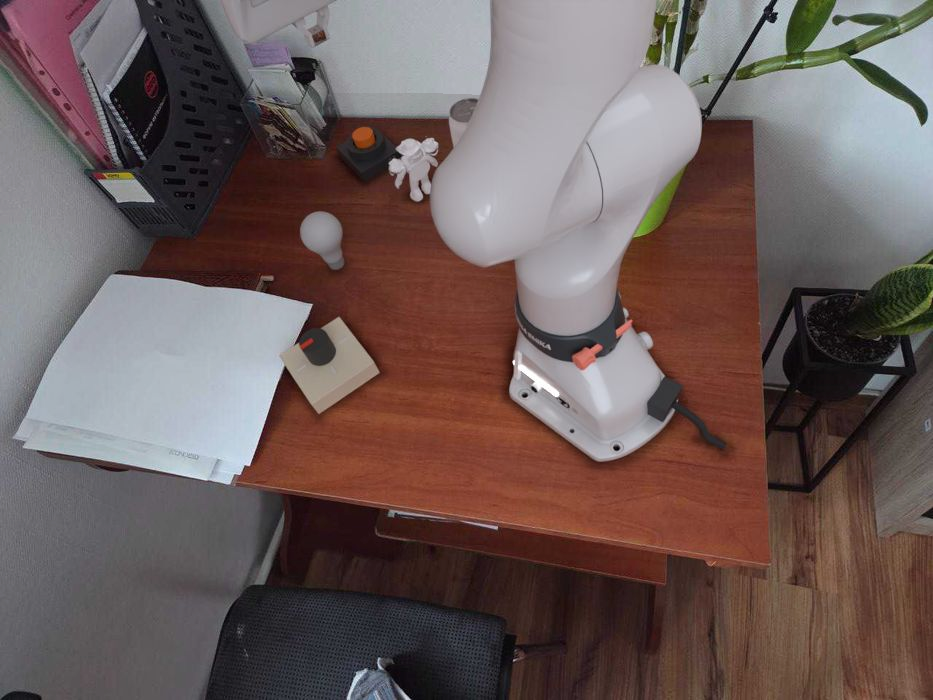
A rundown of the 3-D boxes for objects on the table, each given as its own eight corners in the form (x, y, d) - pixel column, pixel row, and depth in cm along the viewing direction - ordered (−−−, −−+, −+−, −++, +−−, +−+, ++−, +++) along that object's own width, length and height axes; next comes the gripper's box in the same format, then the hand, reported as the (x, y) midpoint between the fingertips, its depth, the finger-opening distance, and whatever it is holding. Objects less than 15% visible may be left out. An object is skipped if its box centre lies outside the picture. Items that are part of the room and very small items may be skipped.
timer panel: (379, 372, 86) (374, 361, 83) (318, 414, 84) (310, 404, 81) (345, 327, 91) (338, 315, 88) (286, 365, 89) (277, 354, 86)
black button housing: (402, 159, 108) (397, 141, 105) (364, 182, 107) (358, 164, 103) (376, 135, 113) (370, 117, 109) (339, 156, 111) (332, 138, 108)
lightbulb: (356, 279, 95) (334, 230, 86) (318, 284, 96) (291, 237, 86) (357, 249, 99) (336, 199, 89) (320, 254, 99) (295, 205, 90)
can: (496, 181, 102) (488, 121, 92) (457, 185, 103) (446, 125, 93) (496, 154, 106) (488, 94, 96) (458, 158, 106) (447, 98, 96)
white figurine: (406, 213, 101) (389, 156, 91) (394, 200, 103) (375, 143, 93) (450, 185, 103) (438, 126, 93) (437, 174, 105) (424, 114, 95)
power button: (379, 141, 106) (376, 133, 105) (361, 152, 105) (358, 143, 104) (368, 132, 108) (365, 123, 106) (351, 142, 107) (348, 133, 106)
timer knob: (326, 336, 86) (317, 321, 83) (341, 354, 84) (332, 339, 81) (303, 353, 86) (292, 338, 82) (317, 371, 84) (307, 357, 80)
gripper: (340, -108, 78) (369, 1, 90) (196, -40, 74) (246, 65, 85) (365, -94, 75) (392, 17, 87) (216, -21, 71) (265, 85, 82)
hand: (319, 42), depth 86 cm, fingers closed
